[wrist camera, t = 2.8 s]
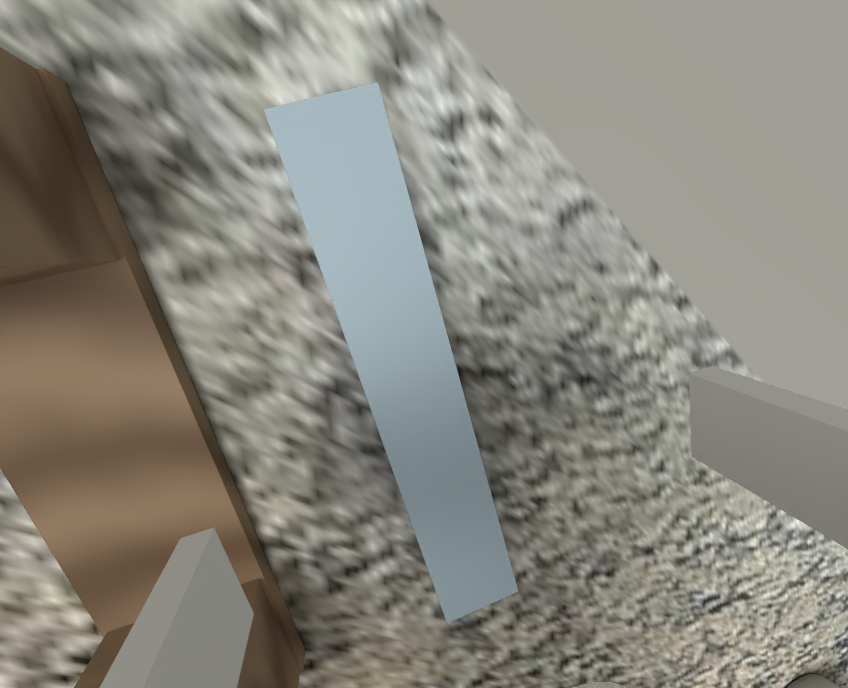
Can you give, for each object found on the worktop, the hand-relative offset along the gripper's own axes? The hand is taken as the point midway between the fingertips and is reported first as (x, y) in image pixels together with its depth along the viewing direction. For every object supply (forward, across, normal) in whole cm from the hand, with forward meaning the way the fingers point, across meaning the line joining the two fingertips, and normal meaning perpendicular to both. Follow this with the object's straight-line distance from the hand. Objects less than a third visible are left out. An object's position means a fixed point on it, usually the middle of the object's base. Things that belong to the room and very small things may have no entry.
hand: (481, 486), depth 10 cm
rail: (+12, 0, 0) cm, 12 cm away
